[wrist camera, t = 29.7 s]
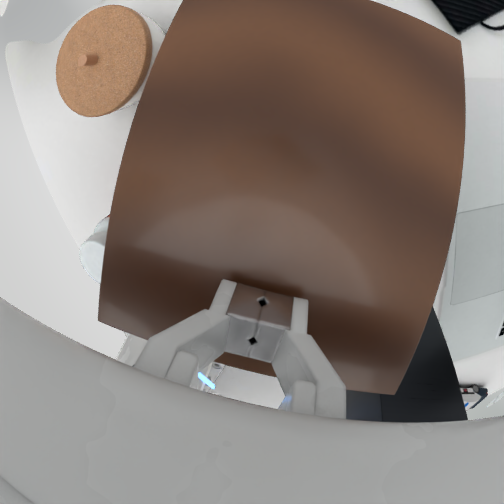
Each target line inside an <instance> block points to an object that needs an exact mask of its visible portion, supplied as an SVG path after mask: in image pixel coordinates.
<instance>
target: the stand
mask: <svg viewBox="0 0 504 504" xmlns="http://www.w3.org/2000/svg"><path fill="white" fill-rule="evenodd" d="M346 419H350V420H362V421H377V422H406V423H422V422H450V421H464V420H468V418H467V414H466V409H465V405H464V401H463V397H462V393H461V389H460V385H459V382H458V378H457V375H456V371H455V368H454V365H453V362H452V358H451V355H450V352H449V349H448V346H447V343H446V340H445V338H444V335H443V332H442V329H441V327H440V324H439V321H438V319H437V316H436V313H435V311H434V308H433V306H432V309H431V312H430V314H429V317H428V320H427V323H426V325H425V328H424V331H423V333H422V336H421V338H420V341H419V343H418V346H417V348H416V350H415V353H414V355H413V357H412V360H411V362H410V364H409V366H408V369H407V371H406V373H405V375H404V377H403V379H402V381H401V383H400V385H399V387H398V389H397V391H396V393H395V395H389V394H378V393H369V392H360V391H353V390H346Z"/></svg>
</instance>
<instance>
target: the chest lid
mask: <svg viewBox="0 0 504 504" xmlns="http://www.w3.org/2000/svg"><path fill="white" fill-rule="evenodd" d="M464 144H465V80H464V66H463V56H462V48H461V41H460V40H458V39H456V38H454V37H453V36H451V35H449V34H447V33H445V32H444V31H442V30H440V29H438V28H436V27H434V26H432V25H430V24H428V23H426V22H424V21H421V20H419V19H417V18H415V17H413V16H410V15H408V14H406V13H403V12H401V11H398V10H396V9H393V8H391V7H388V6H385V5H383V4H380V3H377V2H374V1H371V0H183V1H182V3H181V5H180V7H179V9H178V11H177V13H176V15H175V17H174V19H173V21H172V23H171V25H170V27H169V29H168V31H167V33H166V36H165V38H164V40H163V42H162V44H161V47H160V49H159V51H158V54H157V56H156V58H155V61H154V63H153V66H152V68H151V71H150V73H149V76H148V78H147V81H146V84H145V87H144V89H143V92H142V95H141V98H140V101H139V104H138V107H137V110H136V113H135V116H134V119H133V122H132V125H131V129H130V132H129V135H128V139H127V142H126V146H125V150H124V154H123V157H122V161H121V165H120V169H119V174H118V178H117V182H116V187H115V191H114V196H113V201H112V206H111V212H110V217H109V223H108V229H107V235H106V242H105V249H104V256H103V265H102V274H101V284H100V295H99V312H98V321H100V322H102V323H104V324H107V325H109V326H112V327H114V328H117V329H119V330H122V331H124V332H127V333H129V334H132V335H134V336H137V337H140V338H142V339H145V340H149V338H150V337H152V336H154V335H156V334H158V333H160V332H162V331H164V330H166V329H168V328H169V327H171V326H173V325H175V324H177V323H179V322H181V321H183V320H185V319H187V318H188V317H190V316H192V315H194V314H196V313H198V312H200V311H202V310H204V309H207V310H209V308H210V306H211V304H212V301H213V299H214V297H215V294H216V292H217V290H218V288H219V285H220V283H221V281H222V280H223V279H226V280H229V281H233V282H236V283H241V284H244V285H248V286H252V287H255V288H259V289H263V290H266V291H270V292H274V293H279V294H283V295H287V296H291V297H298V298H302V299H307V300H308V323H307V334H308V335H311V336H312V337H313V339H314V340H315V342H316V343H317V345H318V346H319V348H320V349H321V351H322V352H323V353H324V355H325V356H326V358H327V359H328V361H329V362H330V364H331V365H332V367H333V368H334V370H335V371H336V373H337V374H338V376H339V377H340V379H341V380H342V381H343V383H344V384H345V386H346V390H353V391H360V392H369V393H378V394H389V395H395V393H396V391H397V389H398V387H399V385H400V383H401V381H402V379H403V377H404V375H405V373H406V371H407V369H408V366H409V364H410V362H411V360H412V357H413V355H414V353H415V350H416V348H417V346H418V343H419V341H420V338H421V336H422V333H423V331H424V328H425V325H426V323H427V320H428V317H429V314H430V312H431V309H432V306H433V303H434V300H435V297H436V293H437V290H438V287H439V284H440V280H441V277H442V273H443V270H444V266H445V262H446V258H447V254H448V250H449V246H450V242H451V237H452V233H453V228H454V223H455V217H456V212H457V206H458V200H459V193H460V186H461V178H462V169H463V158H464ZM213 362H217V363H220V364H224V365H228V366H231V367H235V368H239V369H243V370H247V371H251V372H255V373H260V374H264V375H268V376H273V377H277V376H276V373H275V371H274V369H273V366H272V363H268V362H264V361H260V360H257V359H253V358H249V357H245V356H241V355H236V354H232V353H228V352H224V353H223V354H222V355H220V356H219V357H218V358H217V359H215V360H214V361H213Z"/></svg>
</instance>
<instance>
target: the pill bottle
mask: <svg viewBox="0 0 504 504" xmlns="http://www.w3.org/2000/svg"><path fill="white" fill-rule="evenodd" d="M109 217H110V214H109V215H108V216H107V217H105V218H104V219H103V220H102V221H101V222H99V223H98V225H97V226H96V228H95V230H94V234H93V235H91V236H90V237H89V238H88V239H87V240H86V241H85V242H84V243H83V244H82V245H81V248H80V254H79V255H80V260H81V263H82V265H83V268H84V269H85V271H86V272H87V273H88V275H89V276H90V277H91V278H92V279H93V280H95V281H96V282H98V283H99V284H101V274H102V265H103V256H104V249H105V242H106V235H107V229H108V223H109Z"/></svg>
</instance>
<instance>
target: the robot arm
mask: <svg viewBox="0 0 504 504" xmlns="http://www.w3.org/2000/svg"><path fill="white" fill-rule="evenodd" d="M307 323H308V300H307V299H302V298H298V297H291V296H287V295H283V294H279V293H274V292H270V291H266V290H263V289H259V288H255V287H252V286H248V285H244V284H241V283H236V282H233V281H229V280H226V279H223V280H222V281H221V283H220V285H219V288H218V290H217V292H216V294H215V297H214V299H213V301H212V304H211V306H210V308H209V310H207V309H204V310H202V311H200V312H198V313H196V314H194V315H192V316H190V317H188V318H187V319H185V320H183V321H181V322H179V323H177V324H175V325H173V326H171V327H169V328H168V329H166V330H164V331H162V332H160V333H158V334H156V335H154V336H152V337H150V338H149V340H145V339H142V338H140V337H137V336H134V335H132V334H129V333H127V332H124V333H125V335H126V337H127V338H126V340H125V342H124V343H123V345H122V348H121V350H120V352H119V353H118V356H117V358H116V360H115V359H113V358H111V357H108V356H106V355H104V354H102V353H99V352H97V351H95V350H92V349H91V348H89V347H86V346H84V345H82V344H80V343H78V342H76V341H74V340H72V339H70V338H68V337H66V336H65V335H63V334H61V333H59V332H57V331H55V330H53V329H52V328H50V327H48V326H46V325H44V324H42V323H41V322H39V321H37V320H35V319H34V318H32V317H31V316H29V315H27V314H26V313H24V312H22V311H21V310H19V309H18V308H16V307H14V306H13V305H11V304H10V303H8V302H7V301H5V300H4V299H2V298H1V297H0V504H504V416H498V417H491V418H484V419H475V420H464V421H450V422H422V423H406V422H377V421H362V420H350V419H346V386H345V384H344V383H343V381H342V380H341V379H340V377H339V376H338V374H337V373H336V371H335V370H334V368H333V367H332V365H331V364H330V362H329V361H328V359H327V358H326V356H325V355H324V353H323V352H322V351H321V349H320V348H319V346H318V345H317V343H316V342H315V340H314V339H313V337H312V336H311V335H308V334H307ZM224 352H228V353H232V354H236V355H241V356H245V357H249V358H253V359H257V360H260V361H264V362H268V363H272V366H273V369H274V371H275V373H276V376H277V378H278V380H279V383H280V385H281V387H282V390H283V392H284V394H285V396H286V397H285V398H284V400H283V401H282V403H281V405H280V406H279V408H278V409H274V408H269V407H264V406H259V405H255V404H250V403H246V402H242V401H238V400H234V399H230V398H226V397H222V396H219V395H215V394H211V393H208V391H209V390H210V388H212V389H214V388H215V385H214V382H215V380H216V379H217V377H218V376H219V374H220V372H221V371H222V369H223V368H224V366H225V365H224V364H220V363H217V362H213V361H214V360H215V359H217V358H218V357H219V356H220V355H222V354H223V353H224Z"/></svg>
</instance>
